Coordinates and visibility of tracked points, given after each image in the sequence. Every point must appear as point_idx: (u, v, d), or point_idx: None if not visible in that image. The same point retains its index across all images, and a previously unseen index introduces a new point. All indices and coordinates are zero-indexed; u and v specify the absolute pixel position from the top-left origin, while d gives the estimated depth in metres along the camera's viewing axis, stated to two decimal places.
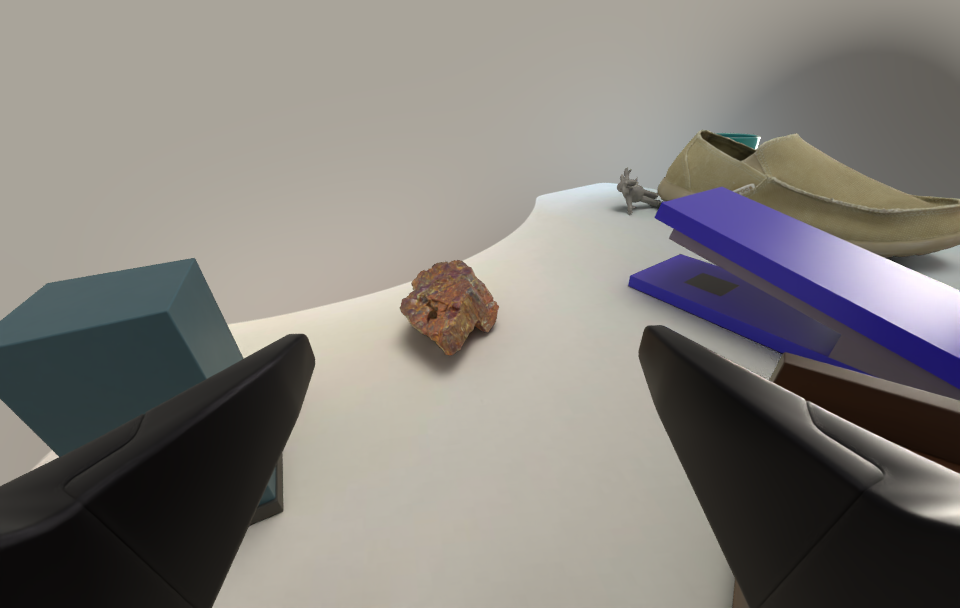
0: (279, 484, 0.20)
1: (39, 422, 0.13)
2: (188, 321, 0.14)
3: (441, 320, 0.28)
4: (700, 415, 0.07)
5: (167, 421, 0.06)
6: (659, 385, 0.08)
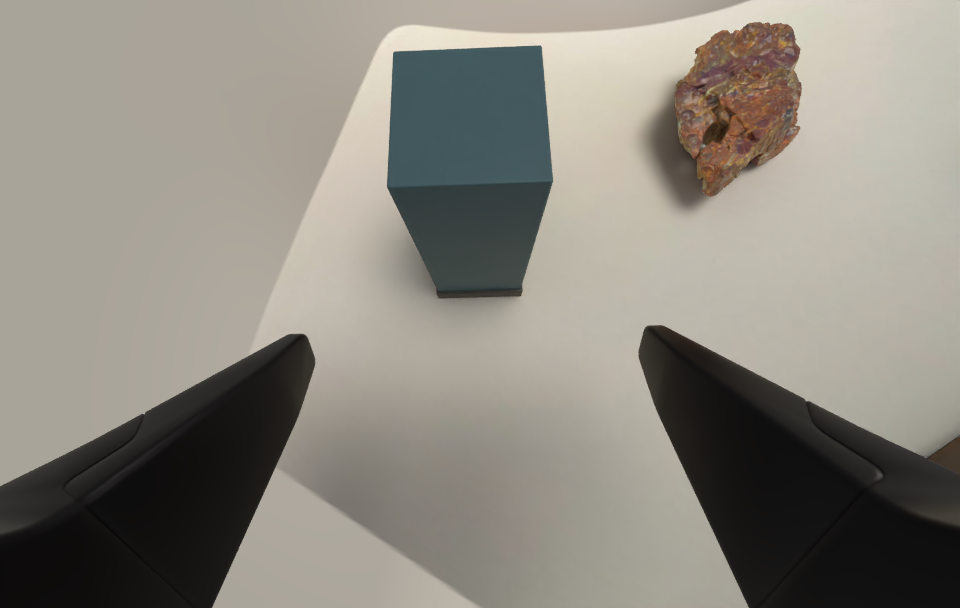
0: None
1: (416, 230, 0.15)
2: None
3: (726, 150, 0.22)
4: (700, 415, 0.07)
5: (167, 421, 0.06)
6: (659, 385, 0.08)
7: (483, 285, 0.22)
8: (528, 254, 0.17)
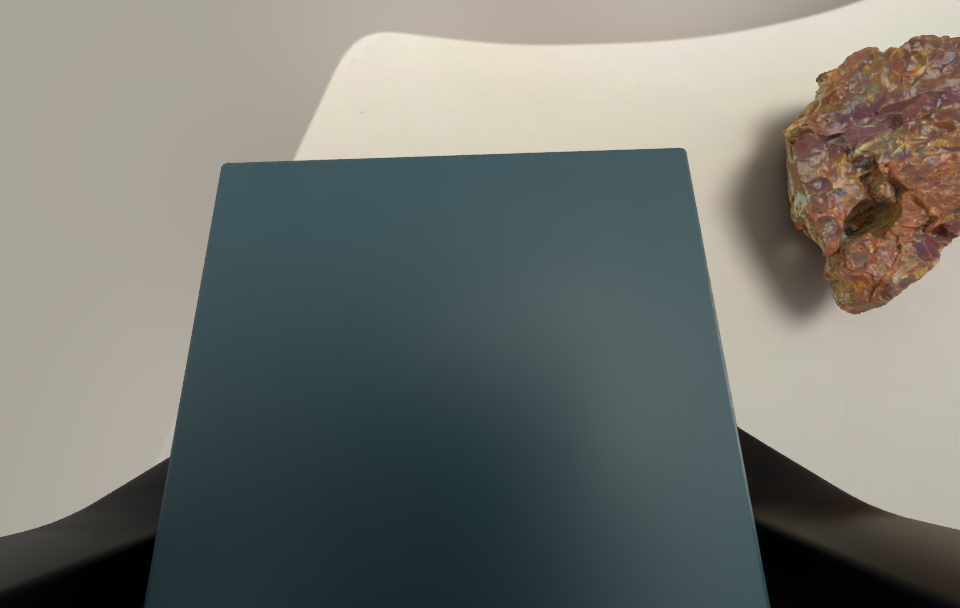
0: None
1: None
2: None
3: (896, 252, 0.13)
4: None
5: None
6: None
7: None
8: None
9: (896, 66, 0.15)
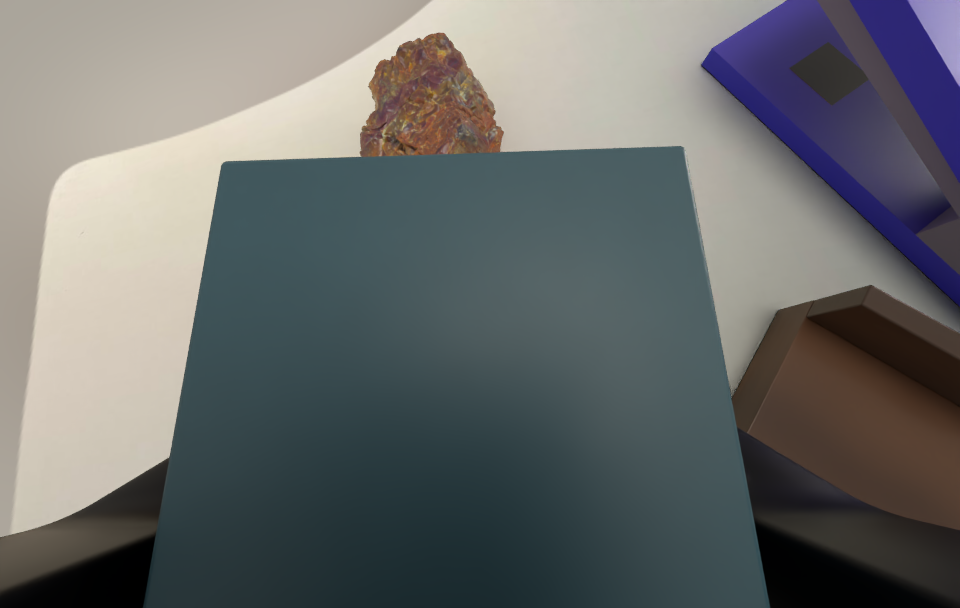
0: None
1: None
2: None
3: None
4: None
5: None
6: None
7: None
8: None
9: (399, 67, 0.22)
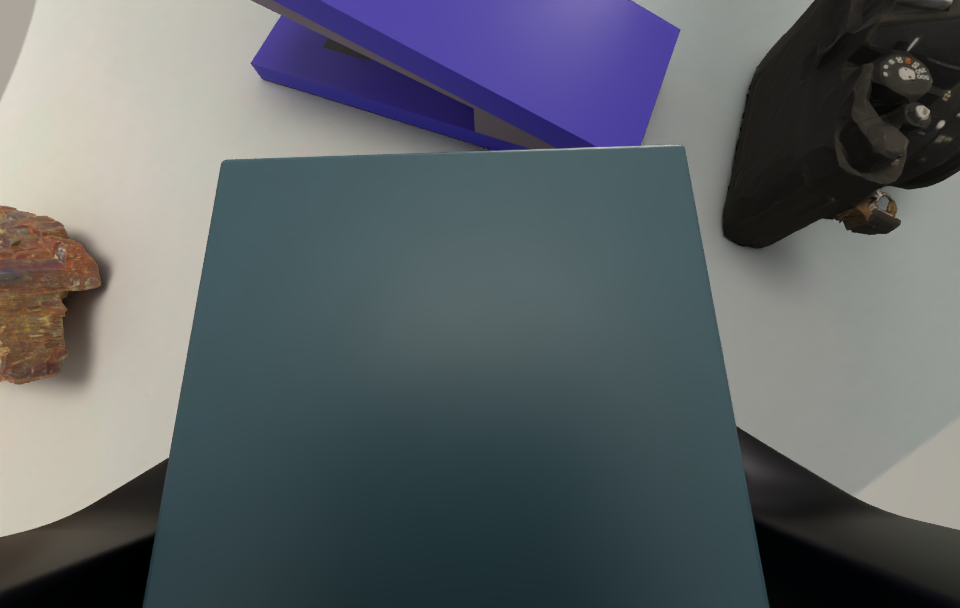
0: None
1: None
2: None
3: None
4: None
5: None
6: None
7: None
8: None
9: None
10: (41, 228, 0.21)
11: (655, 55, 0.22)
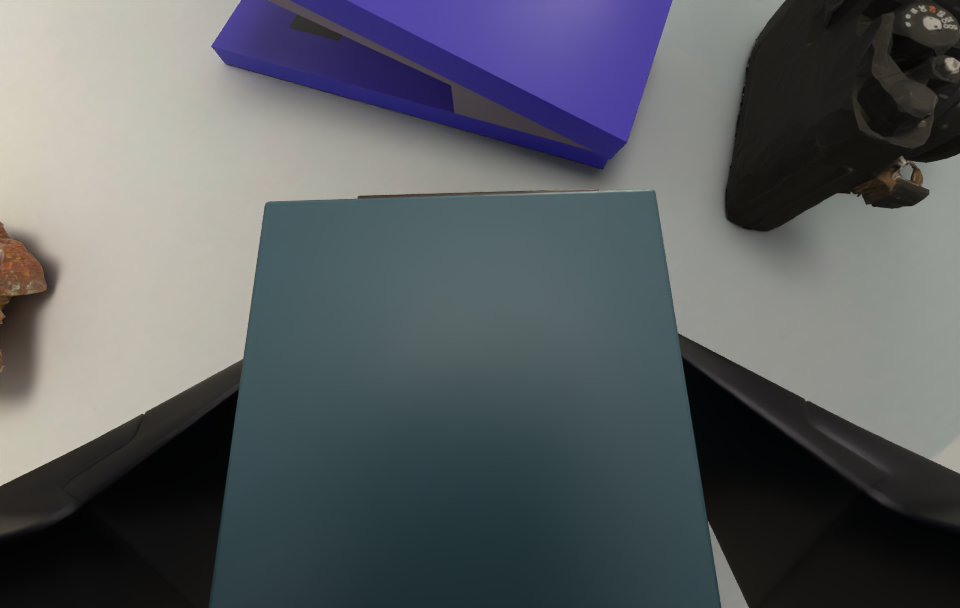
0: None
1: None
2: None
3: None
4: (700, 415, 0.07)
5: (167, 421, 0.06)
6: None
7: None
8: None
9: None
10: None
11: (647, 23, 0.20)
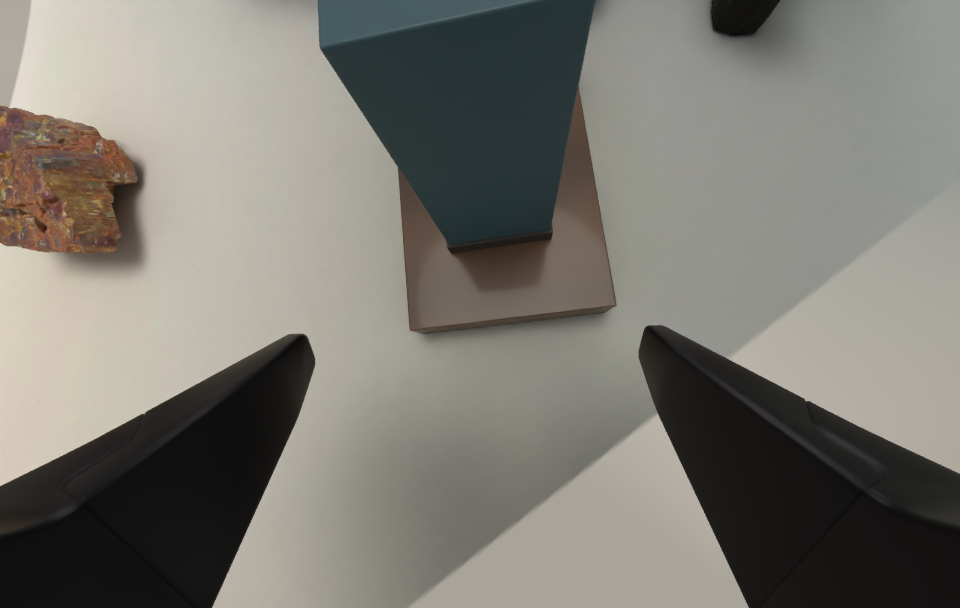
0: None
1: (394, 142, 0.10)
2: None
3: (54, 227, 0.22)
4: (700, 415, 0.07)
5: (167, 421, 0.06)
6: (659, 385, 0.08)
7: (503, 228, 0.17)
8: (558, 168, 0.12)
9: None
10: (79, 129, 0.24)
11: None
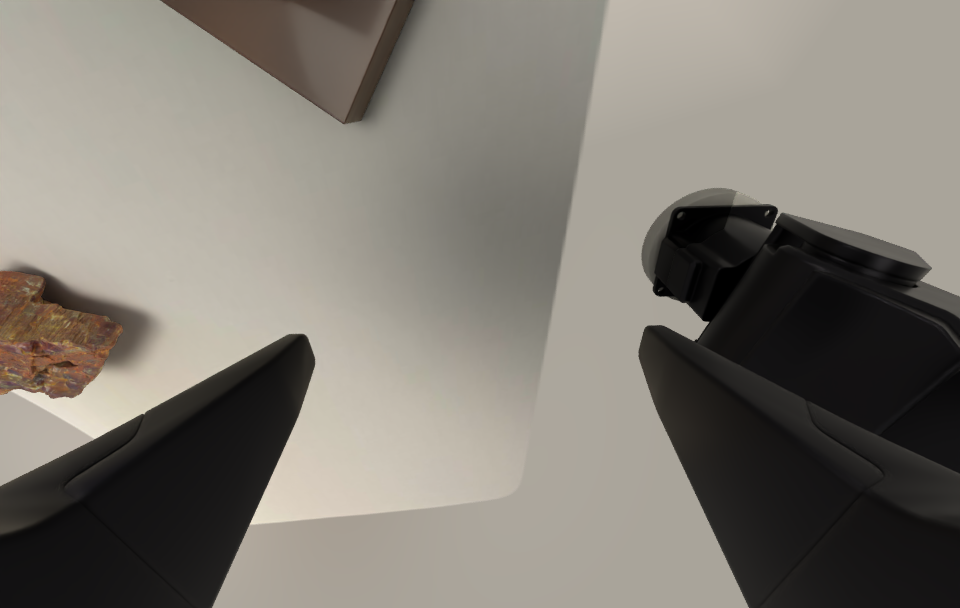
0: None
1: None
2: None
3: (70, 356, 0.22)
4: (700, 415, 0.07)
5: (167, 421, 0.06)
6: (659, 385, 0.08)
7: None
8: None
9: None
10: None
11: None
